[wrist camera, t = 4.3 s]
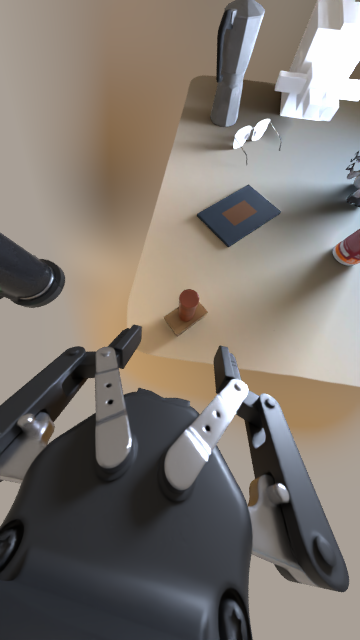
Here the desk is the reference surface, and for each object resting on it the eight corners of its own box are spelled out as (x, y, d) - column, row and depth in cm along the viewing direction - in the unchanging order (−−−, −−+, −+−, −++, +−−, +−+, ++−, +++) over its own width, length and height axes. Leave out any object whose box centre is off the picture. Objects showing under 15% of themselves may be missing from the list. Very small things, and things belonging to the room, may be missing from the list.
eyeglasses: (263, 136, 44) (272, 116, 40) (279, 153, 43) (289, 134, 39) (229, 150, 41) (235, 130, 38) (244, 168, 40) (252, 149, 36)
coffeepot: (225, 105, 48) (252, -37, 30) (246, 117, 46) (287, -27, 29) (195, 123, 45) (207, -24, 27) (217, 136, 43) (244, -12, 26)
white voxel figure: (260, 144, 46) (265, 89, 51) (335, 155, 45) (333, 98, 50) (297, 51, 31) (300, -14, 36) (410, 64, 30) (396, -4, 35)
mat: (228, 247, 32) (229, 245, 32) (196, 216, 35) (197, 213, 34) (279, 213, 35) (281, 211, 35) (247, 187, 38) (248, 184, 37)
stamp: (177, 337, 26) (176, 326, 16) (165, 321, 27) (158, 301, 17) (204, 317, 28) (220, 294, 18) (192, 302, 28) (200, 273, 18)
